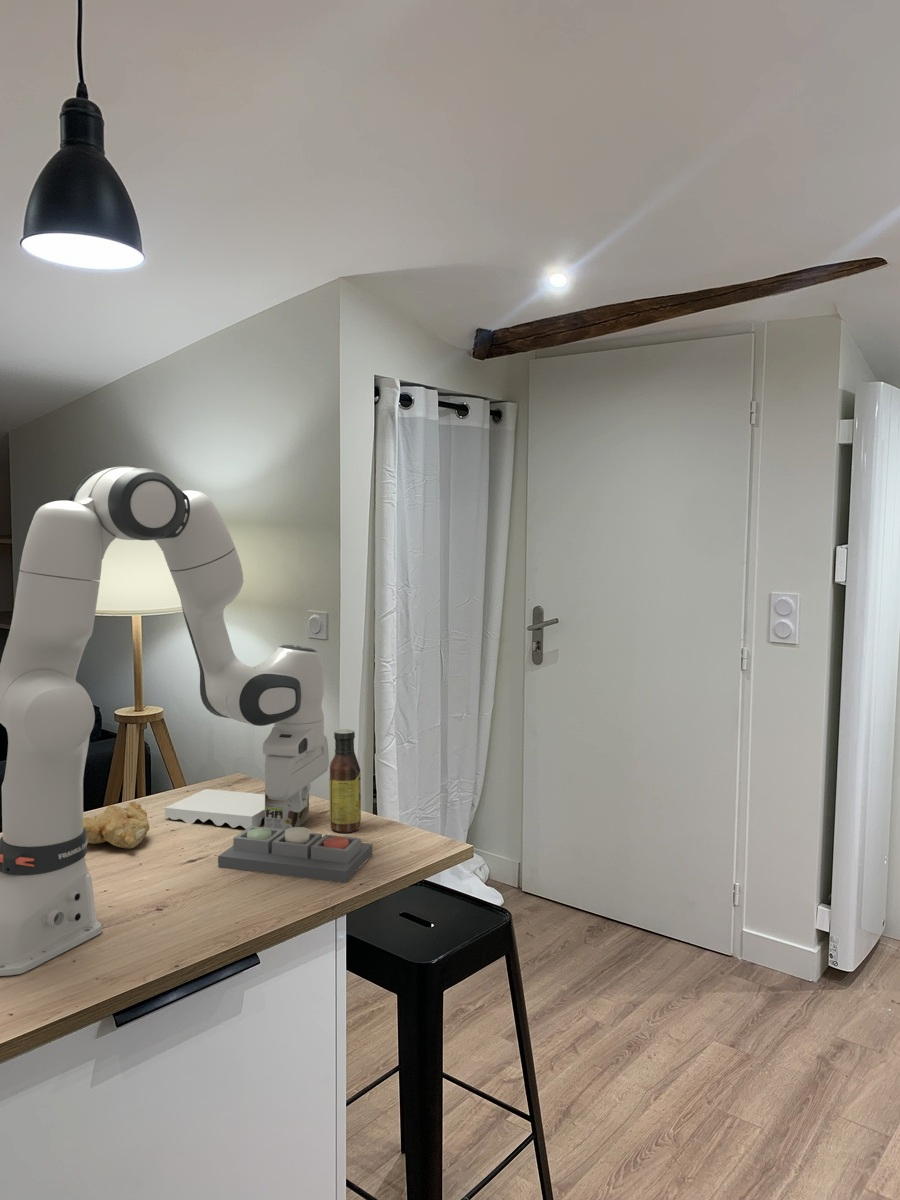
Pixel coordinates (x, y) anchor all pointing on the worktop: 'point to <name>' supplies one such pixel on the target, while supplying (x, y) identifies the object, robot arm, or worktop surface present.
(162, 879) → the worktop surface
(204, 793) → the white scalloped slab
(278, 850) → the button panel
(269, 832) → the green button
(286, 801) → the coffee box
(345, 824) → the sauce bottle
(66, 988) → the worktop surface
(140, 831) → the ginger root
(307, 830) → the cream button
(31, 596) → the robot arm
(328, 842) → the red button
